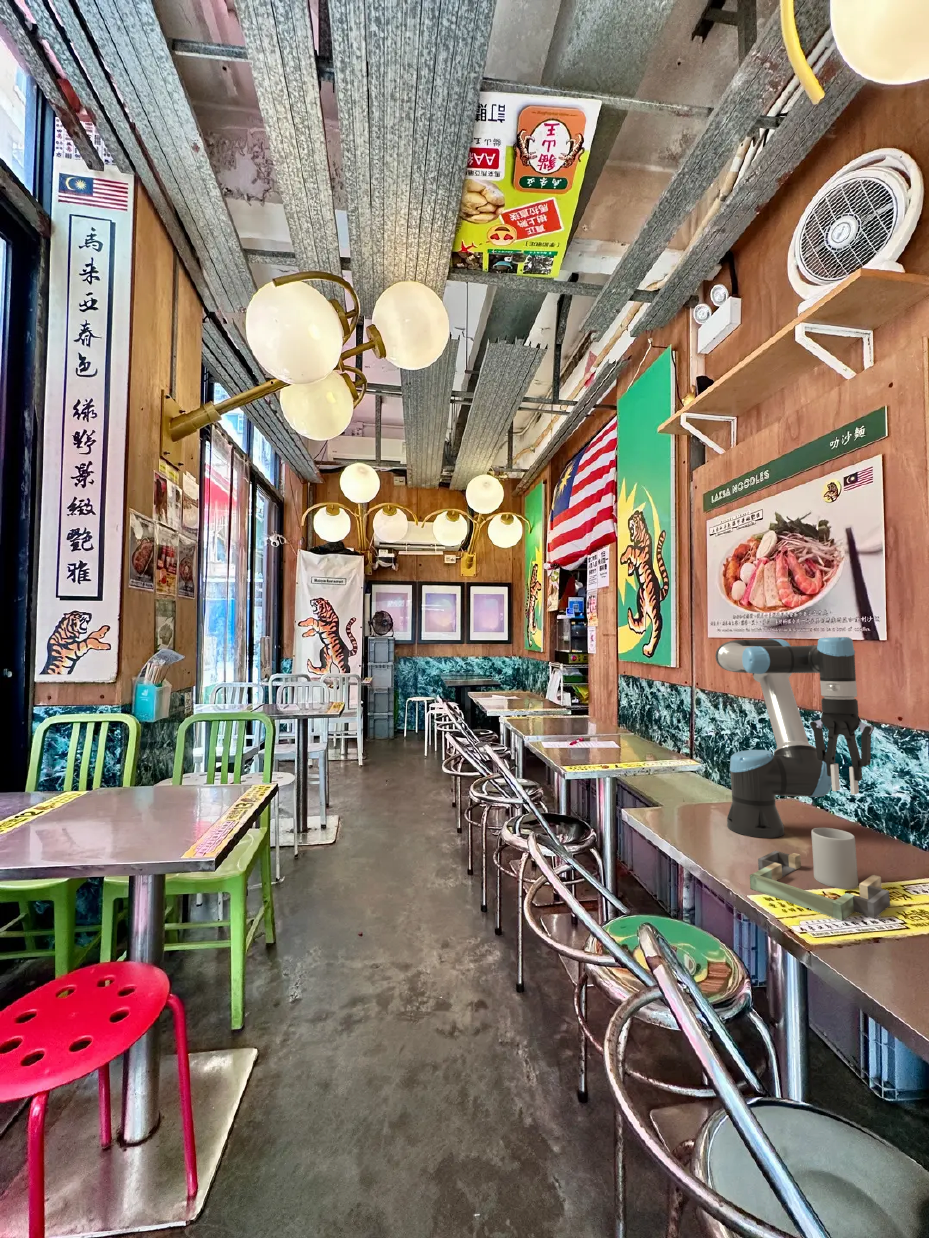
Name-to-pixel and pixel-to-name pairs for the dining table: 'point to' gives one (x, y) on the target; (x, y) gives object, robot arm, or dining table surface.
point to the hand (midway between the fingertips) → (845, 791)
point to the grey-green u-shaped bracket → (782, 864)
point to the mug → (834, 858)
